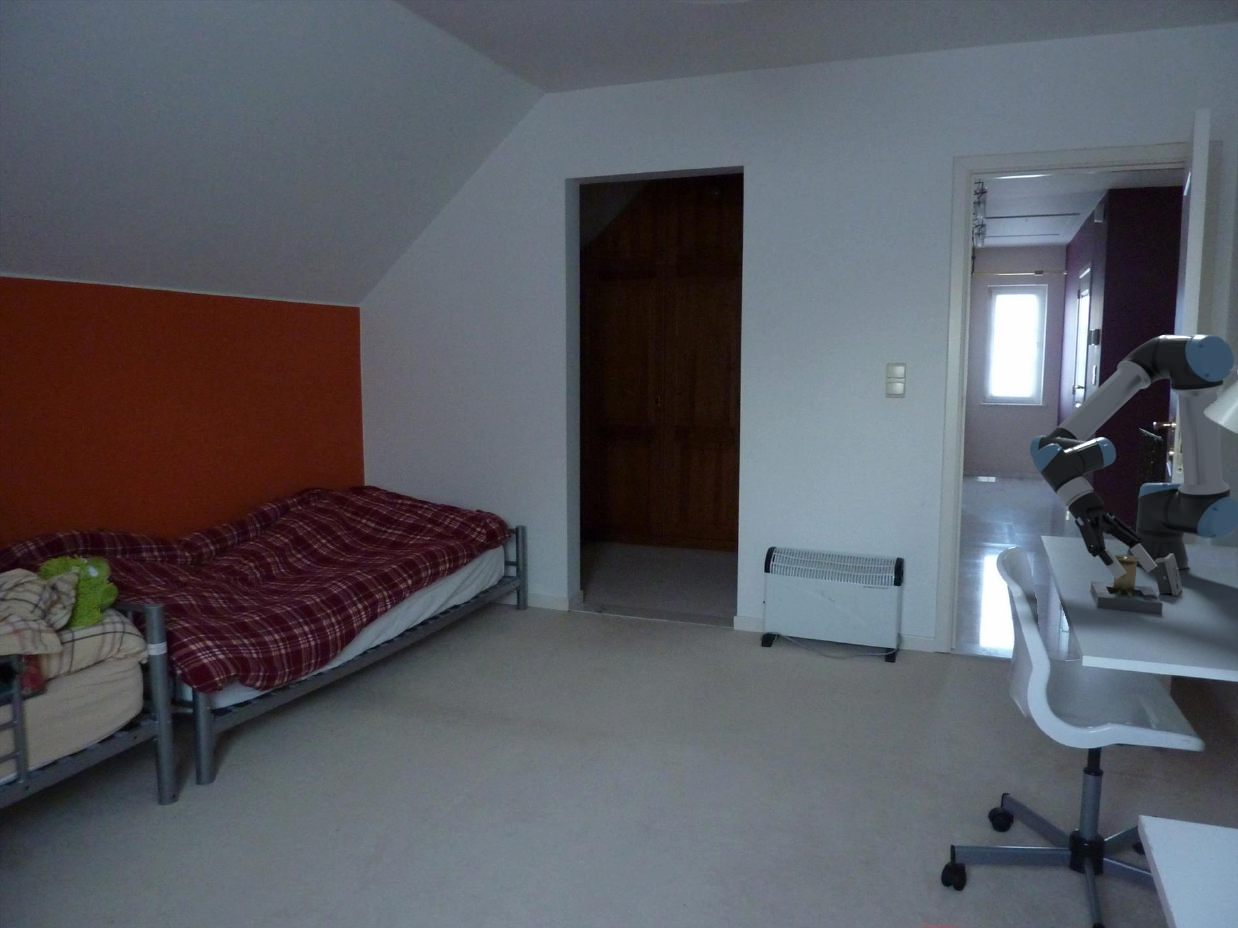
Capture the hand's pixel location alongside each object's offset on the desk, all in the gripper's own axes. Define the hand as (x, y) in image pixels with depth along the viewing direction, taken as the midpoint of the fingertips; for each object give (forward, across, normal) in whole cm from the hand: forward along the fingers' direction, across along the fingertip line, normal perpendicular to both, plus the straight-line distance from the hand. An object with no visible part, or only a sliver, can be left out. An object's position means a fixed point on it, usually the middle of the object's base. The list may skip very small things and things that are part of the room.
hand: (1137, 572), depth 214 cm
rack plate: (+4, 0, -7) cm, 8 cm away
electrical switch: (+4, -20, -7) cm, 21 cm away
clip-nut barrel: (+4, +1, -7) cm, 8 cm away
